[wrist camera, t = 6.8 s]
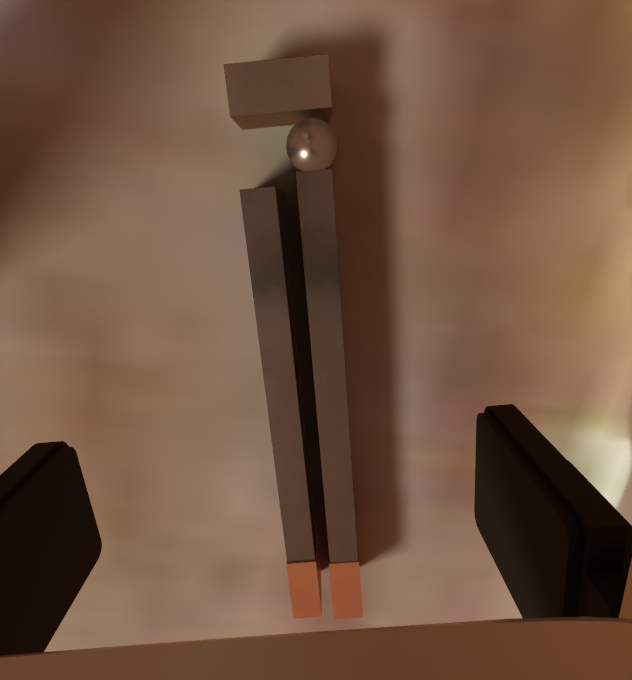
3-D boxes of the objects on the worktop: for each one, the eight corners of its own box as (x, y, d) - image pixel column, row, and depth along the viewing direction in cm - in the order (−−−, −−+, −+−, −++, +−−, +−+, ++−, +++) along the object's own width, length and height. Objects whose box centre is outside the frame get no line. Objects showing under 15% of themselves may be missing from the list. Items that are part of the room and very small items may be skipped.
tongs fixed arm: (236, 85, 22) (222, 63, 19) (326, 76, 22) (328, 53, 19) (295, 573, 31) (293, 618, 27) (361, 568, 30) (367, 613, 27)
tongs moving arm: (288, 132, 23) (283, 120, 19) (332, 129, 23) (335, 115, 19) (328, 573, 30) (329, 619, 27) (361, 571, 30) (367, 617, 27)
